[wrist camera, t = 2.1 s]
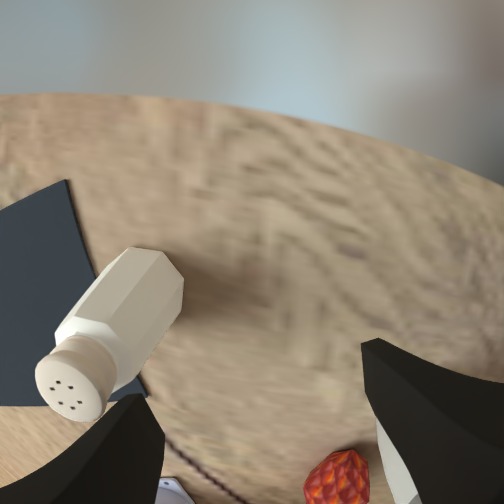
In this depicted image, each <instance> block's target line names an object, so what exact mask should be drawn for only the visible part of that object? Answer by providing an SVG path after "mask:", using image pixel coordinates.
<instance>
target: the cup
mask: <svg viewBox="0 0 504 504" xmlns="http://www.w3.org/2000/svg"><path fill="white" fill-rule="evenodd" d="M376 424H377V440H378V446H379V450H380V454H381V458H382V463H383V467H384V472H385V476H386V479H387V481H388V484H389V487H390V490H391V492H392V495H393V498H394V501H395V503H396V504H422V502H421V500H420V497H419V494H418V492H417V490H416V487H415V485H414V483H413V480H412V478H411V476H410V473H409V471H408V469H407V467H406V466H405V464H404V462H403V460H402V459H401V457H400V455H399V454H398V452H397V450H396V449H395V447H394V445H393V444H392V442H391V440H390V439H389V437H388V436H387V434H386V432H385V431H384V429H383V427H382V426H381V424H380V422H379V421H378V419H377V417H376Z"/></svg>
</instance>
